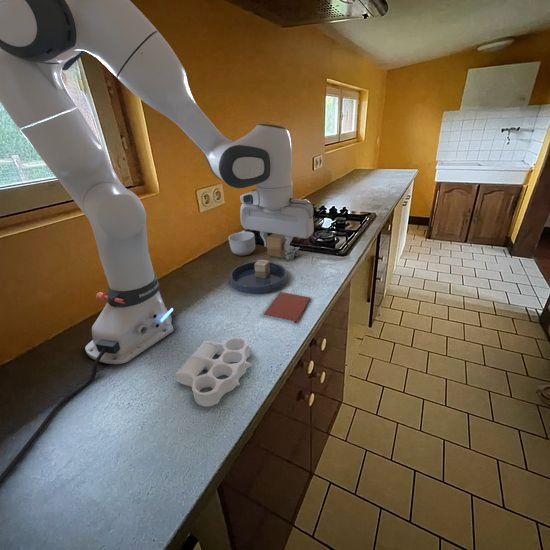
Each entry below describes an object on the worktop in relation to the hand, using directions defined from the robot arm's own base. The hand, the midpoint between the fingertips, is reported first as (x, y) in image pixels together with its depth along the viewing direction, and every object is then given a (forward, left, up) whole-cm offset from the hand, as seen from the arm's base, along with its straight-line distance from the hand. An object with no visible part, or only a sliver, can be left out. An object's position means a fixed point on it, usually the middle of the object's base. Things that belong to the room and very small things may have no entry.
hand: (276, 248), depth 81 cm
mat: (+1, -2, -19) cm, 19 cm away
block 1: (+17, +13, -19) cm, 28 cm away
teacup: (+34, +30, -19) cm, 49 cm away
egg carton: (+36, +12, -19) cm, 43 cm away
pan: (+13, +13, -19) cm, 27 cm away
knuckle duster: (-29, +3, -19) cm, 35 cm away
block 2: (0, 0, -2) cm, 2 cm away
